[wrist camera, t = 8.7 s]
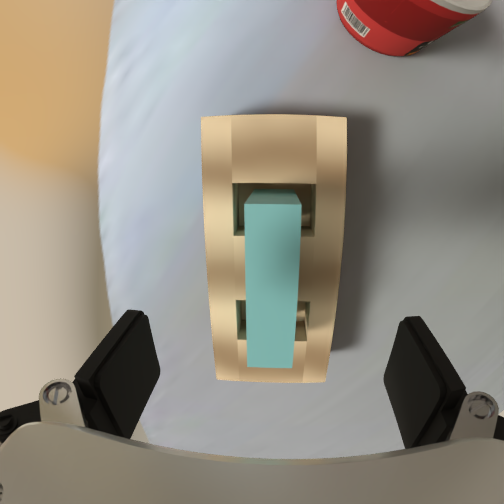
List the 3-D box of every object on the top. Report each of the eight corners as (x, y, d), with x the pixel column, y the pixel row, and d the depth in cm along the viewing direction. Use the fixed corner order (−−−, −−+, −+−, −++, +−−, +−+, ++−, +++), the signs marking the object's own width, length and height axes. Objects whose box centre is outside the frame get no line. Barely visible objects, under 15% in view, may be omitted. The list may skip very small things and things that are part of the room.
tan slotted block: (214, 123, 21) (201, 117, 17) (334, 124, 20) (346, 117, 16) (224, 351, 27) (216, 379, 23) (320, 353, 26) (324, 382, 23)
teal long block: (254, 188, 21) (244, 203, 15) (293, 189, 21) (301, 204, 14) (255, 312, 24) (247, 367, 18) (289, 313, 24) (292, 368, 18)
